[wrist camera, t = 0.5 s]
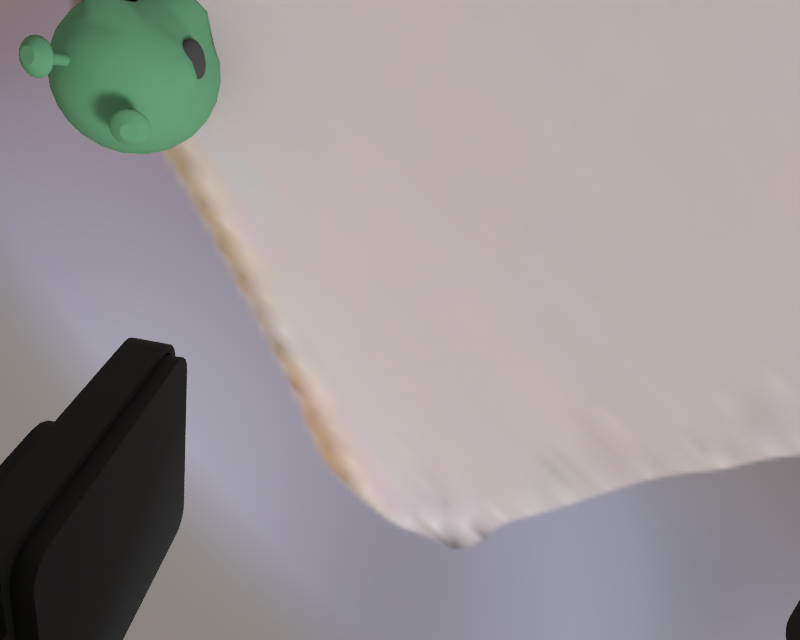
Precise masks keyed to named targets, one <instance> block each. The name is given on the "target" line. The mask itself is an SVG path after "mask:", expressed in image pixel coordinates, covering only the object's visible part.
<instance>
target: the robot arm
mask: <svg viewBox="0 0 800 640" xmlns="http://www.w3.org/2000/svg"><path fill="white" fill-rule="evenodd" d="M186 386H187V363H186V360H185V359H184V358H182V357H176V356H175V351H174V348H173V346H172V345H169V344H164V343H159V342H153V341H148V340H143V339H137V338H128V339H127V340H126V341H125V342H124V343H123V344H122V345H121V346H120V348H119V349H118V350H117V351H116V352H115V353H114V354H113V355H112V357H111V358H110V359H109V360H108V361H107V362H106V364H105V365H104V366H103V367H102V368H101V369H100V370H99V372H98V373H97V374H96V375H95V376H94V377H93V379H92V380H91V381H90V382H89V383H88V384H87V385H86V387H85V388H84V389H83V390H82V391H81V392H80V393H79V394H78V396H77V397H76V398H75V399H74V400H73V401H72V403H71V404H70V405H69V406H68V407H67V408H66V409H65V410H64V412H63V413H62V414H61V415H60V416H59V417H58V419H57V420H56V421H55V422H53V421H45V422H42V423H40V424H38V425H37V426H36V427H35V428H34V429H33V430H32V431H31V432H30V433H29V434H28V435H27V436H26V437H25V438H24V439H23V441H22V442H21V443H20V444H19V445H18V446H17V447H16V448H15V449H14V451H13V452H12V453H11V454H10V455H9V456H8V457H7V458H6V460H4V462H3V463H2V464H1V465H0V640H123V638H124V636H125V634H126V632H127V630H128V628H129V626H130V624H131V622H132V621H133V619H134V616H135V614H136V613H137V611H138V608H139V607H140V605H141V603H142V601H143V599H144V597H145V595H146V593H147V591H148V589H149V587H150V585H151V583H152V581H153V579H154V577H155V575H156V573H157V571H158V569H159V567H160V565H161V563H162V561H163V559H164V557H165V555H166V553H167V551H168V549H169V547H170V545H171V543H172V541H173V539H174V537H175V535H176V533H177V531H178V529H179V526H180V522H181V519H182V514H183V508H184V472H185V429H186ZM786 640H800V601H799V602H798V604H797V606H796V607H795V609H794V611H793V613H792V614H791V616H790V618H789V620H788V622H787V627H786Z"/></svg>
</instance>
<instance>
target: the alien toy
mask: <svg viewBox="0 0 800 640" xmlns="http://www.w3.org/2000/svg"><path fill="white" fill-rule="evenodd" d="M19 58H20V62H21V64H22V67H23V68H24V70H25V71H26V72H27V73H28V74H29V75H30V76H33V77H36V78H43V77H44V76H46V75H48V77H49V83H50V88H51V91H52V93H53V95H54V98H55V100H56V103H57V105H58V107H59V108H60V109H61V111H62V112H63V114H64V115H65V117H66V118H67V120H68V121H69V122H70V123H71V124H72V125H73V126H74V127H75V128H76V129H77V130H78V131H79V132H80V133H81V134H83V135H84V136H86V137H88V138H89V139H91V140H93V141H94V142H96V143H97V144H99V145H101V146H103V147H107V148H110V149H113V150H116V151H119V152H123V153H136V154H149V153H154V152H158V151H163V150H167V149H171V148H172V147H174V146H176V145H178V144H180V143H182V142H183V141H185V140H187V139H189V138H190V137H192V136H193V135H194V134H195V133H196V132H197V131H198V130H199V128H200V127H201V126H202V125H203V124H204V123H205V122H206V121H207V119H208V118H209V116H210V114H211V112H212V110H213V108H214V106H215V104H216V102H217V97H218V92H219V86H220V81H221V80H220V65H219V59H218V56H217V53H216V50H215V46H214V43H213V39H212V34H211V29H210V24H209V20H208V14H207V11H206V10H205V9H204V8H203V7H202V6H201V5H200V4H199V3H198V2H197V1H196V0H84V1H83V2H81V3H79V4H78V5H76V6H75V7H73V8H72V9H71V10H70V11H69V12H68V14H67V15H66V16H65V17H64V19H63V20H62V21H61V23H60V24H59V25H58V26H57V28H56V30H55V33H54V36H53V38H52V41H51V44H49V42H48V41H47V40H46V39H44V38H43V37H42V36H39V35H30V36H28V37H26V38H25V39H24V41H23V42H22V43H21V46H20V49H19Z"/></svg>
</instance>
